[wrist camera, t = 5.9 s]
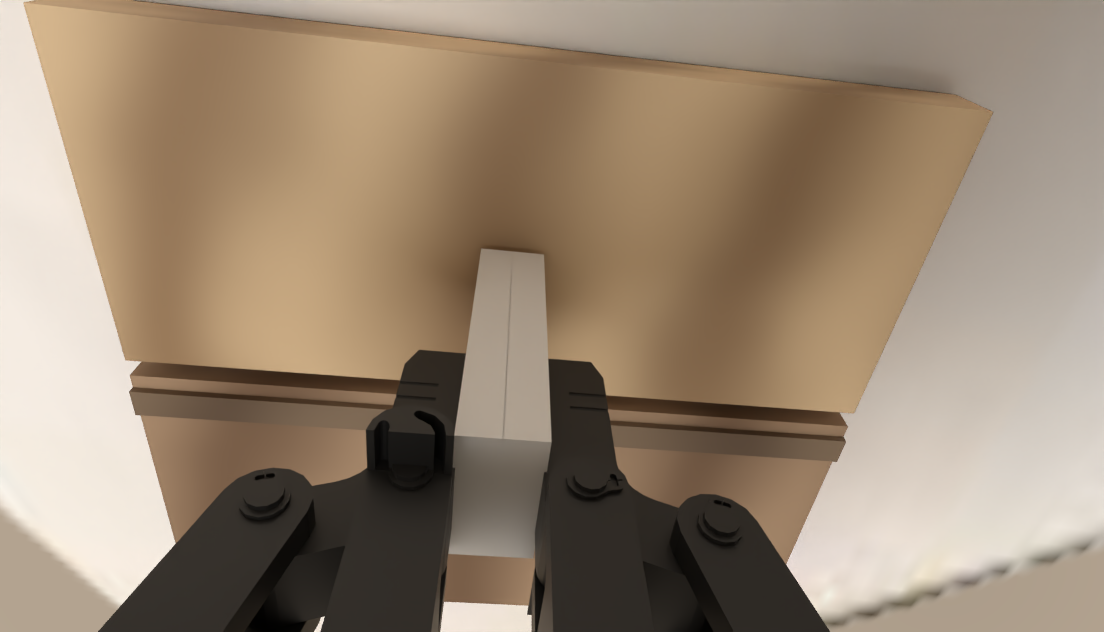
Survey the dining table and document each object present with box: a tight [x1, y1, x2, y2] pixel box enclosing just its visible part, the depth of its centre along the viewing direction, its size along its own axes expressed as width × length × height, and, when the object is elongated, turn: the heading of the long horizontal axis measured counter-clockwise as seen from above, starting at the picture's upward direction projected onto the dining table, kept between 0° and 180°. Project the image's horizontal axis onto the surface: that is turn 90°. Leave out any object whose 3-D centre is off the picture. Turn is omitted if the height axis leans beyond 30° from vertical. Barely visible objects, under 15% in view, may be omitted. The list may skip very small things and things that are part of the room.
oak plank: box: [24, 0, 993, 413], centre depth 16 cm, size 20×9×2 cm, turn 84°
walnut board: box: [129, 361, 848, 605], centre depth 21 cm, size 20×9×2 cm, turn 84°
